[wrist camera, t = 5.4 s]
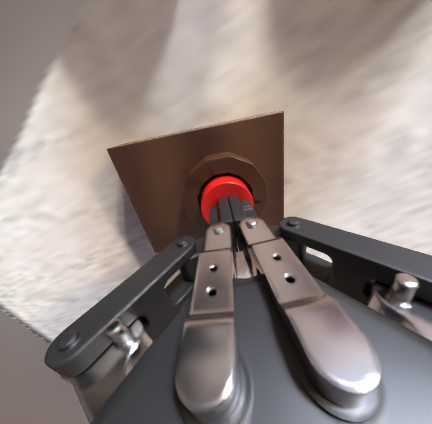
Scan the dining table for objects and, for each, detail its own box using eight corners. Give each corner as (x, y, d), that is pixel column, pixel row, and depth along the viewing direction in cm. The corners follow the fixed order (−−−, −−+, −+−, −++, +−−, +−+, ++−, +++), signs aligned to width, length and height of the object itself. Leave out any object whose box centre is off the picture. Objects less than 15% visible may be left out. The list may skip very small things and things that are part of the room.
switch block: (161, 238, 21) (150, 265, 17) (120, 144, 16) (92, 152, 12) (275, 217, 21) (291, 240, 17) (272, 112, 15) (294, 109, 11)
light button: (206, 220, 16) (206, 233, 14) (196, 179, 14) (195, 188, 12) (250, 212, 16) (255, 224, 14) (245, 169, 14) (251, 177, 12)
